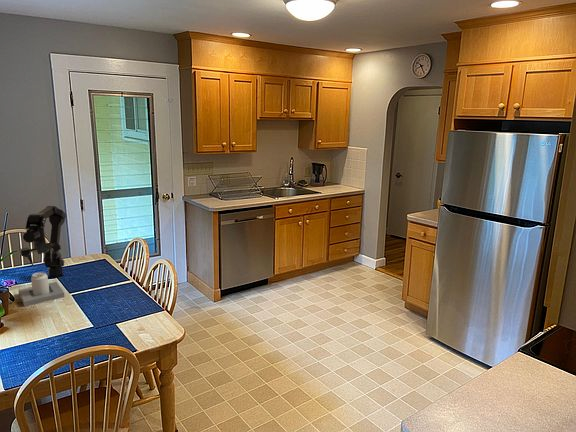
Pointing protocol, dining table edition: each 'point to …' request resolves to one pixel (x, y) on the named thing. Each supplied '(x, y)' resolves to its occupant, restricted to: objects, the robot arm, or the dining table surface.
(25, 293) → the pocket frame
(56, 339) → the dining table surface
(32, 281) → the can
